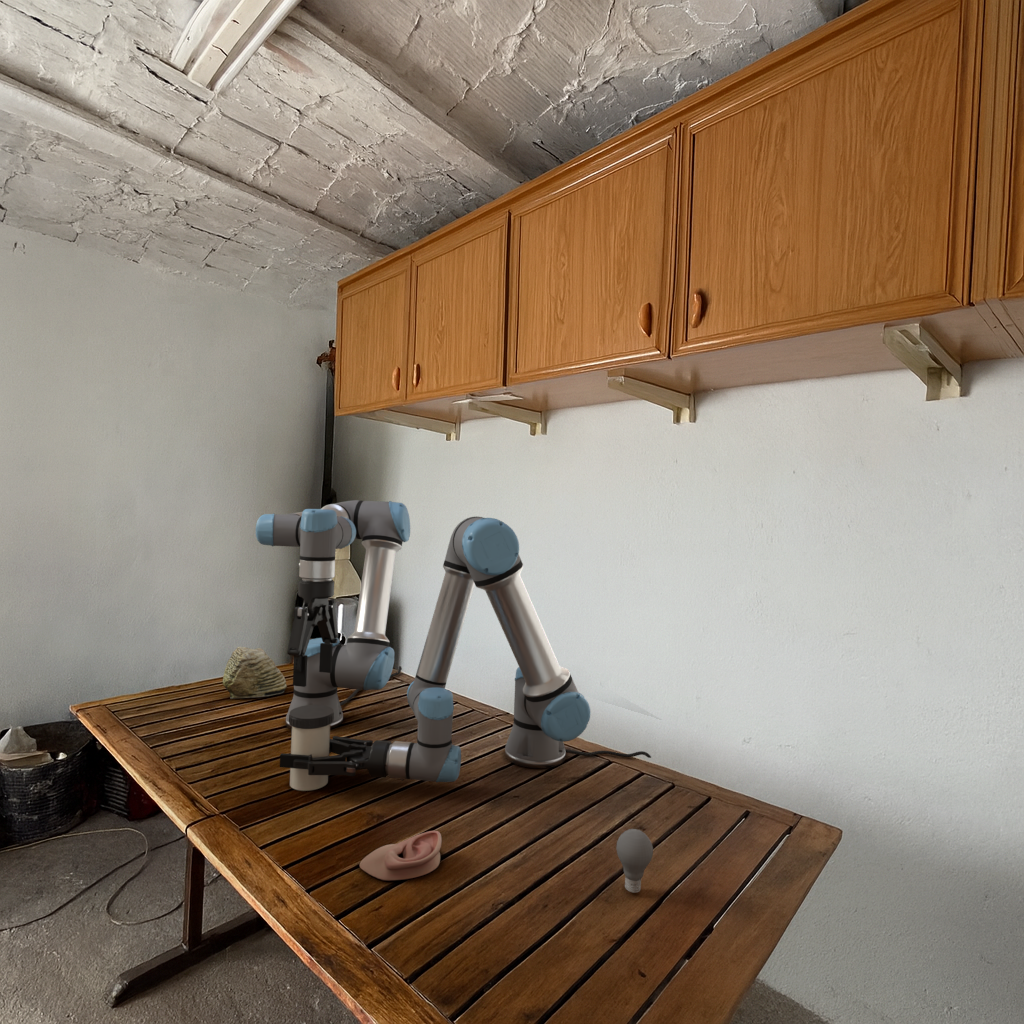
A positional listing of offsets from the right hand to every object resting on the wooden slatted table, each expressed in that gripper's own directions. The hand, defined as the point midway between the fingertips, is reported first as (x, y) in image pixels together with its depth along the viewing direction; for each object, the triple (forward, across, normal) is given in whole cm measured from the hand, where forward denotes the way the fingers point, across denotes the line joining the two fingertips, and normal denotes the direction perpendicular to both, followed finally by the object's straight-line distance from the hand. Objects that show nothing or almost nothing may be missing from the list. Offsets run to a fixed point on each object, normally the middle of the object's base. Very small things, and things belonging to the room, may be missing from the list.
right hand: (289, 752), depth 140 cm
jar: (-5, 0, -6) cm, 8 cm away
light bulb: (-72, -30, -6) cm, 78 cm away
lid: (-5, 0, +9) cm, 10 cm away
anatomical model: (-32, -28, -6) cm, 43 cm away
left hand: (-5, 0, +17) cm, 17 cm away
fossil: (+35, +55, -6) cm, 66 cm away
